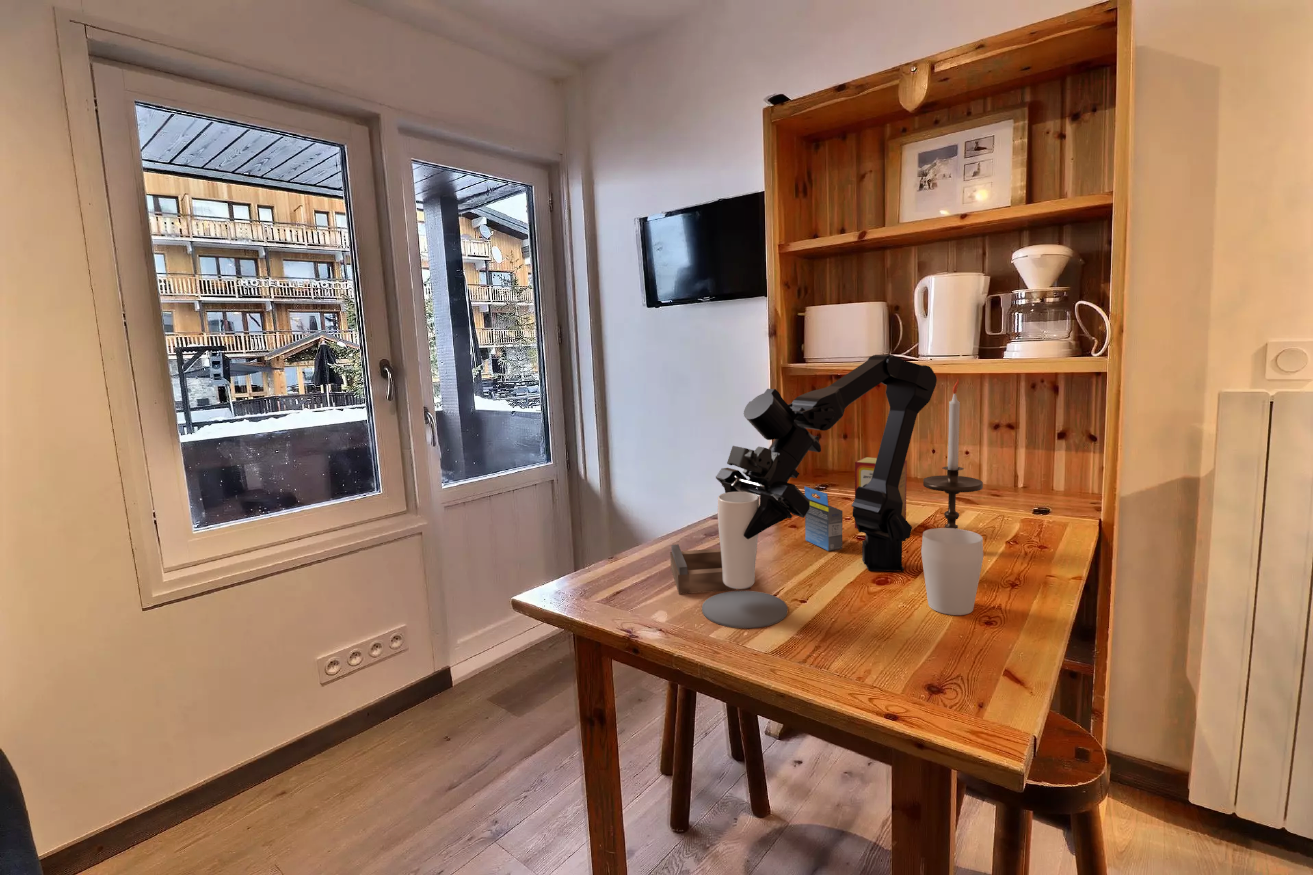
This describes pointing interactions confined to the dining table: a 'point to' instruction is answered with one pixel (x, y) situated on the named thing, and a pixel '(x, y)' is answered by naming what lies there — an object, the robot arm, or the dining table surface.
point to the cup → (951, 569)
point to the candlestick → (953, 468)
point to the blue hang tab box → (823, 522)
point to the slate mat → (744, 609)
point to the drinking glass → (737, 538)
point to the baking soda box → (864, 476)
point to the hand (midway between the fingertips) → (732, 532)
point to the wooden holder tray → (697, 570)
